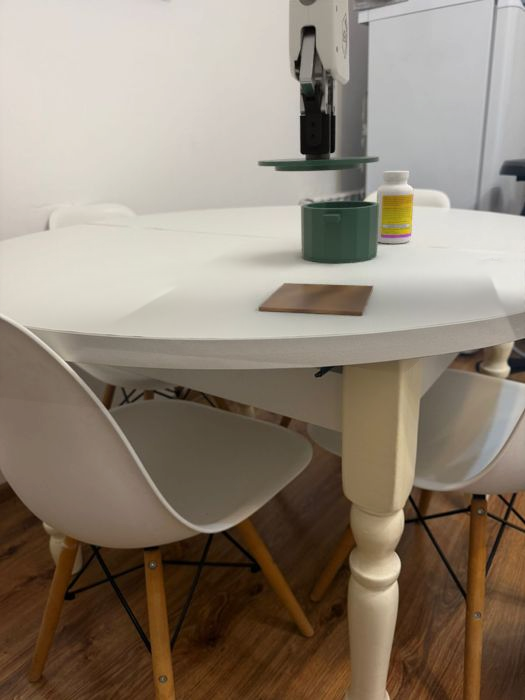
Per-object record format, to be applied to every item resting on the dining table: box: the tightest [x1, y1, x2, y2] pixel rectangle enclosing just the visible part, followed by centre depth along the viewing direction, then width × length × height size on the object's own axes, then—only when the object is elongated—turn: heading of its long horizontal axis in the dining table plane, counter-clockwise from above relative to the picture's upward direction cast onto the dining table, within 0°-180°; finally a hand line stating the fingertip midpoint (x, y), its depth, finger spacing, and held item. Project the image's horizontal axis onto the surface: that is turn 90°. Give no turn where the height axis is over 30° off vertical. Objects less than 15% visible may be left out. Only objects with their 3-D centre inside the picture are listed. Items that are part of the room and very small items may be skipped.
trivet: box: [258, 282, 374, 316], centre depth 66 cm, size 12×12×1 cm
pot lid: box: [257, 105, 380, 172], centre depth 60 cm, size 14×14×7 cm
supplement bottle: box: [376, 170, 414, 245], centre depth 101 cm, size 7×7×13 cm
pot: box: [300, 200, 379, 264], centre depth 91 cm, size 13×18×8 cm
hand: (318, 152), depth 60 cm, fingers closed on pot lid, 2 cm apart
